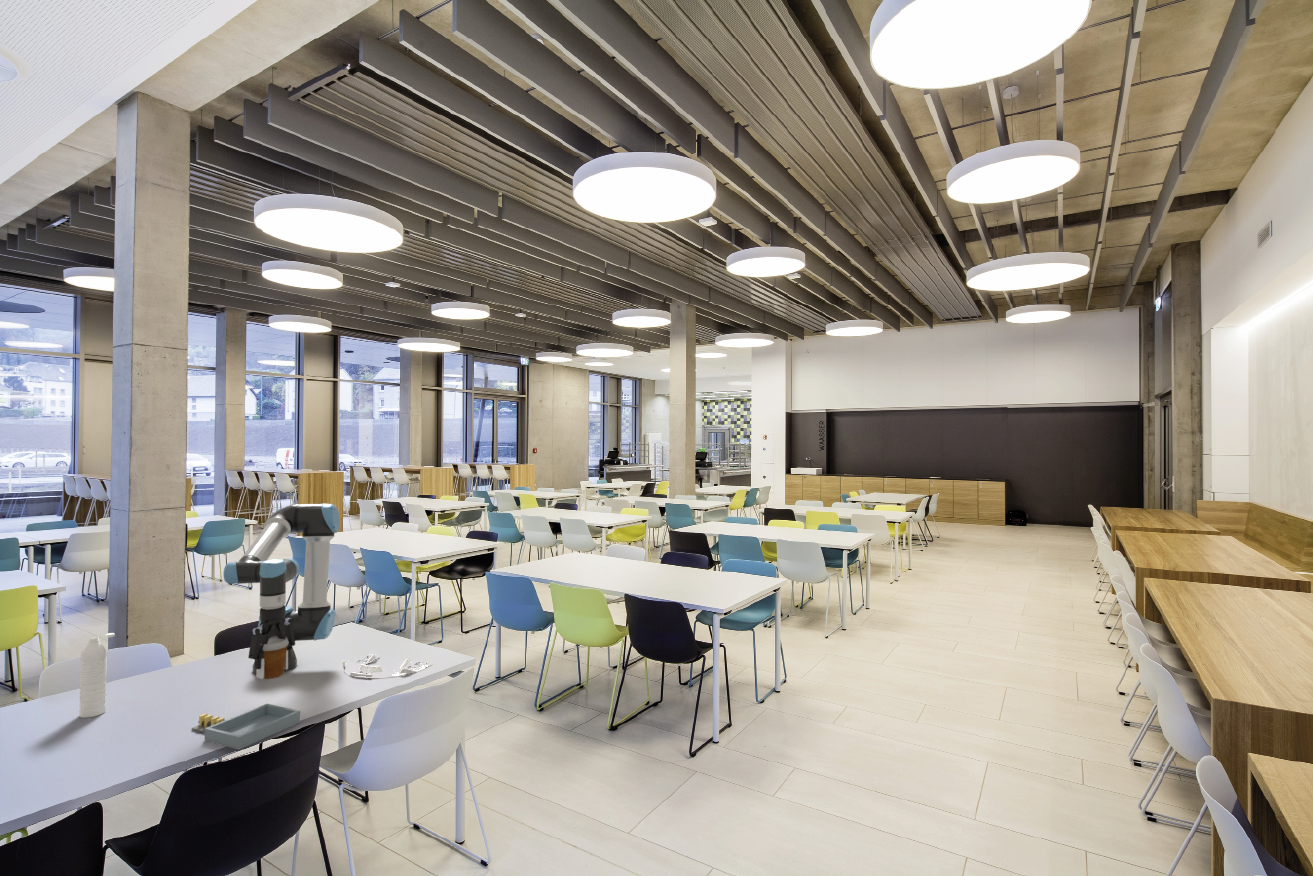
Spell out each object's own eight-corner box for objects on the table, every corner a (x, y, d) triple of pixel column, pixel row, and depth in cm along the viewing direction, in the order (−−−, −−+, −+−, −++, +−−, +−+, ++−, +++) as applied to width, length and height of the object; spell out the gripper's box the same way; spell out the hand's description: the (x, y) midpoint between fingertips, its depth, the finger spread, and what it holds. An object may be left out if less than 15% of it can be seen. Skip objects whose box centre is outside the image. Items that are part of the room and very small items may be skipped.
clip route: (190, 730, 197) (190, 718, 197) (210, 722, 203) (210, 710, 203) (214, 736, 193) (214, 723, 193) (234, 728, 199) (234, 716, 199)
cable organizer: (437, 663, 261) (437, 655, 261) (398, 684, 238) (398, 675, 238) (366, 655, 270) (366, 647, 271) (322, 674, 247) (322, 665, 248)
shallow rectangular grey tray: (204, 740, 190) (204, 728, 190) (266, 714, 209) (267, 703, 209) (239, 749, 185) (239, 737, 185) (300, 722, 204) (300, 710, 204)
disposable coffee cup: (265, 683, 210) (265, 647, 209) (250, 677, 215) (250, 641, 214) (294, 674, 218) (294, 639, 217) (279, 668, 223) (279, 634, 223)
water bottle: (85, 719, 204) (87, 641, 204) (75, 715, 207) (76, 638, 207) (118, 709, 212) (119, 634, 212) (107, 706, 215) (109, 631, 215)
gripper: (251, 615, 205) (250, 686, 205) (307, 600, 224) (307, 664, 224) (235, 613, 207) (234, 682, 208) (292, 597, 227) (292, 661, 227)
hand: (272, 673), depth 216 cm, fingers closed on disposable coffee cup, 8 cm apart
